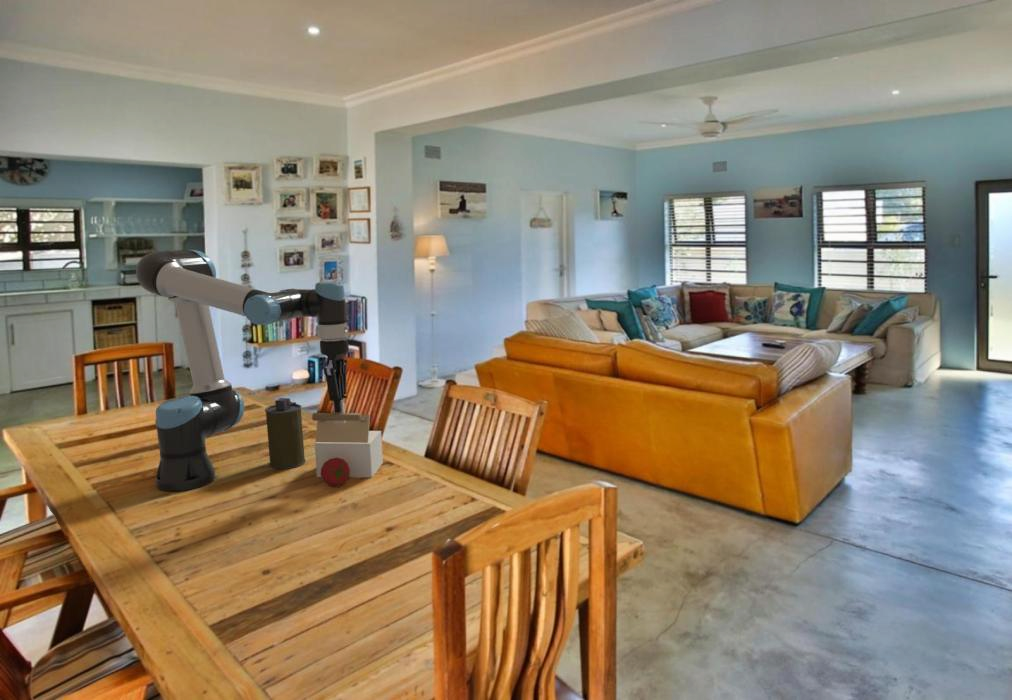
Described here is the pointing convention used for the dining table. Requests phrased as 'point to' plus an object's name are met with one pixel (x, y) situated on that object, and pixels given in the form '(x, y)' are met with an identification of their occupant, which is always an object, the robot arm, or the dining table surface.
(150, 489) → the dining table surface
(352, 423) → the flap
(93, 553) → the dining table surface
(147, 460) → the dining table surface
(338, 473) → the tomato
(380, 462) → the carton
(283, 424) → the canister
